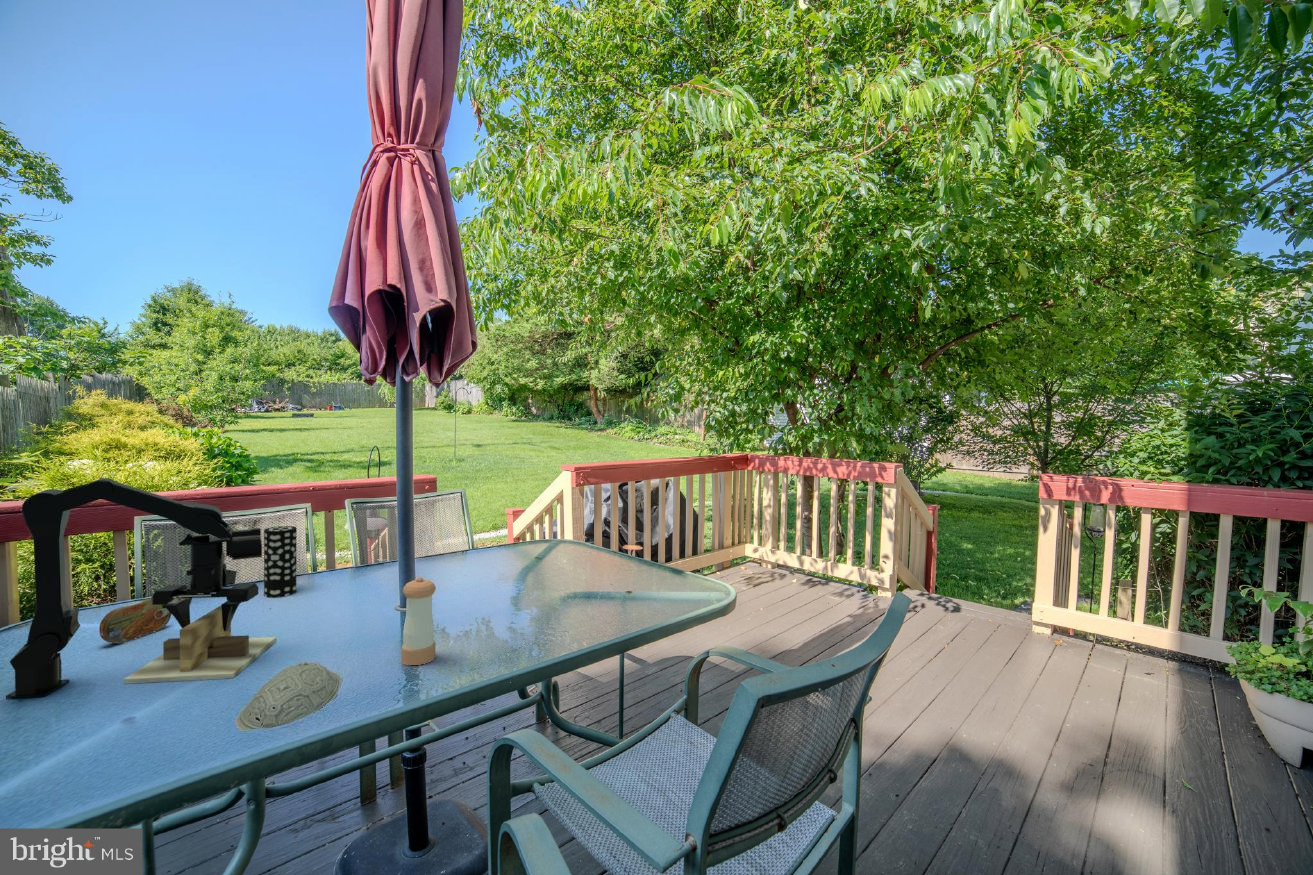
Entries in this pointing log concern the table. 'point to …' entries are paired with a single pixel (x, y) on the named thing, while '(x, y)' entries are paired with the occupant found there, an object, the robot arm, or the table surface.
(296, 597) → the table surface
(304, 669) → the turtle shell
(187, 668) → the oak plate
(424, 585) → the pepper shaker
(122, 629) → the tin
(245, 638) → the wooden base with bar
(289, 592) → the white-spotted black cylinder
